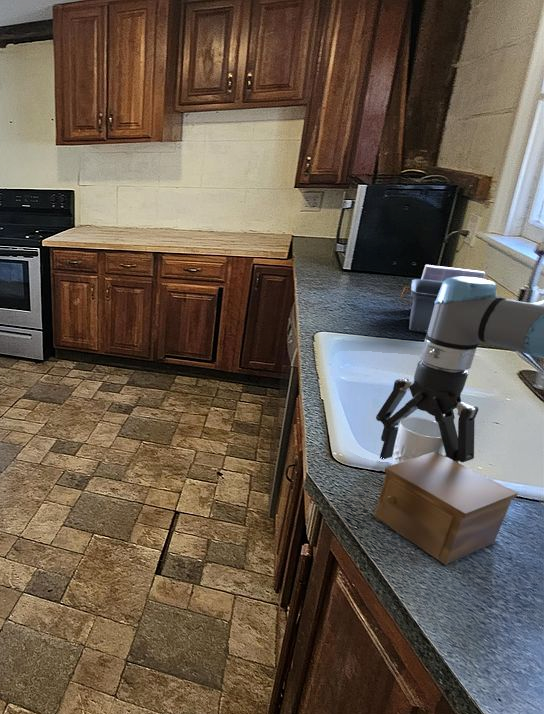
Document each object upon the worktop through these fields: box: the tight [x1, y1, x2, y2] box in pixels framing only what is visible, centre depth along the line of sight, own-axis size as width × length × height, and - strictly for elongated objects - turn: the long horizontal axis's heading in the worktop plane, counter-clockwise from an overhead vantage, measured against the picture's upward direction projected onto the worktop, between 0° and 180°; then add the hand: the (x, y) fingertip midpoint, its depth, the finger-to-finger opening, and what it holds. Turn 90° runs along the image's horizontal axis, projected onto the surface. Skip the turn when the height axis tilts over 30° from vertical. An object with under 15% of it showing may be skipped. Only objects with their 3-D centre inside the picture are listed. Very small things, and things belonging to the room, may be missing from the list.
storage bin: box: [400, 278, 443, 334], centre depth 182 cm, size 21×16×14 cm
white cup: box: [390, 416, 445, 466], centre depth 100 cm, size 8×8×10 cm
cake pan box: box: [420, 264, 486, 282], centre depth 194 cm, size 19×5×18 cm, turn 60°
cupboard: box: [373, 452, 519, 566], centre depth 85 cm, size 13×14×10 cm
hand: (410, 471), depth 102 cm, fingers open, 10 cm apart
